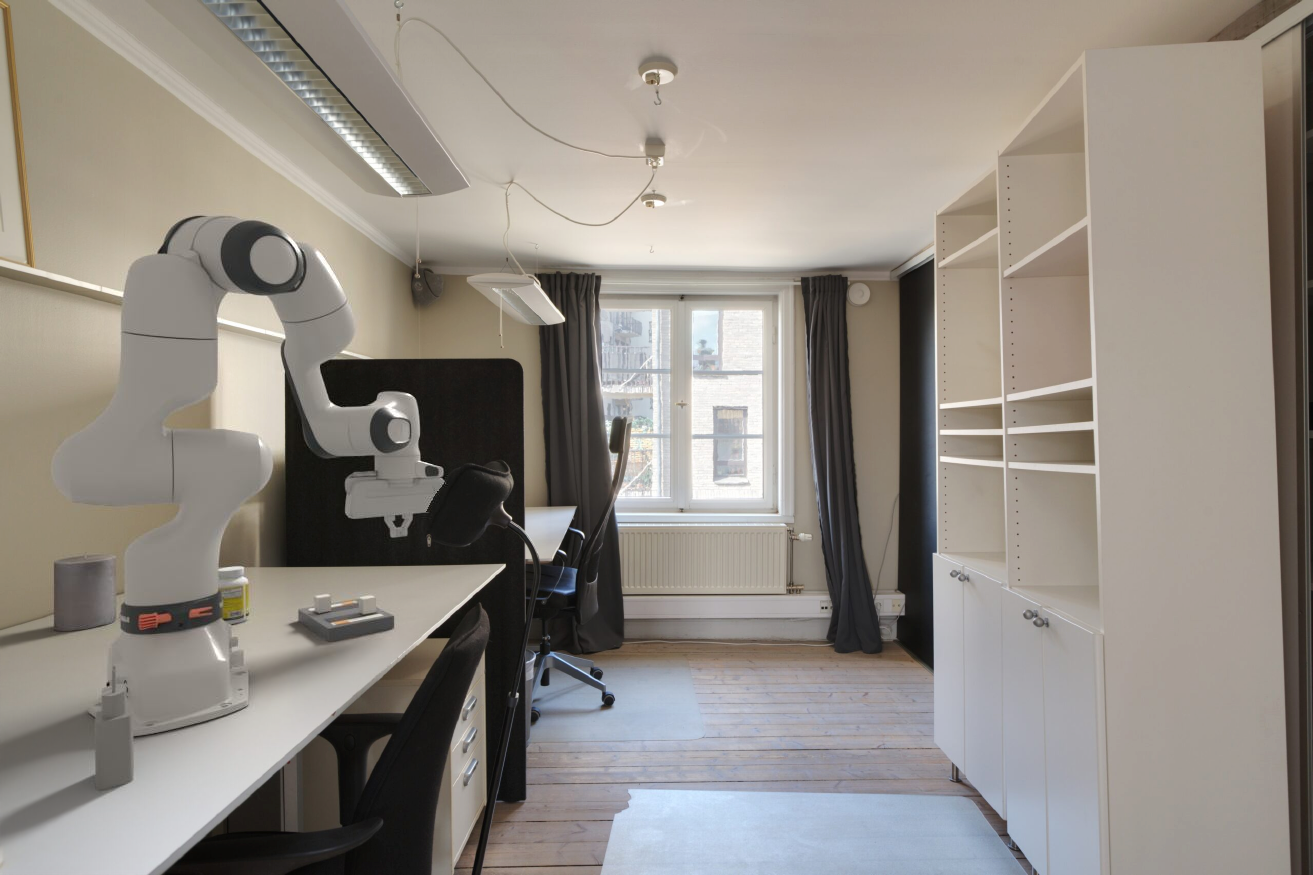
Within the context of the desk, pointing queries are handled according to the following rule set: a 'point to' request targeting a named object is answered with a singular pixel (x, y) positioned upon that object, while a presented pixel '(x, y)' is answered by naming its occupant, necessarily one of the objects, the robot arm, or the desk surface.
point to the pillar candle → (84, 592)
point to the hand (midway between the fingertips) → (398, 536)
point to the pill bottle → (234, 594)
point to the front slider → (367, 604)
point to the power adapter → (114, 737)
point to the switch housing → (345, 621)
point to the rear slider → (322, 603)
